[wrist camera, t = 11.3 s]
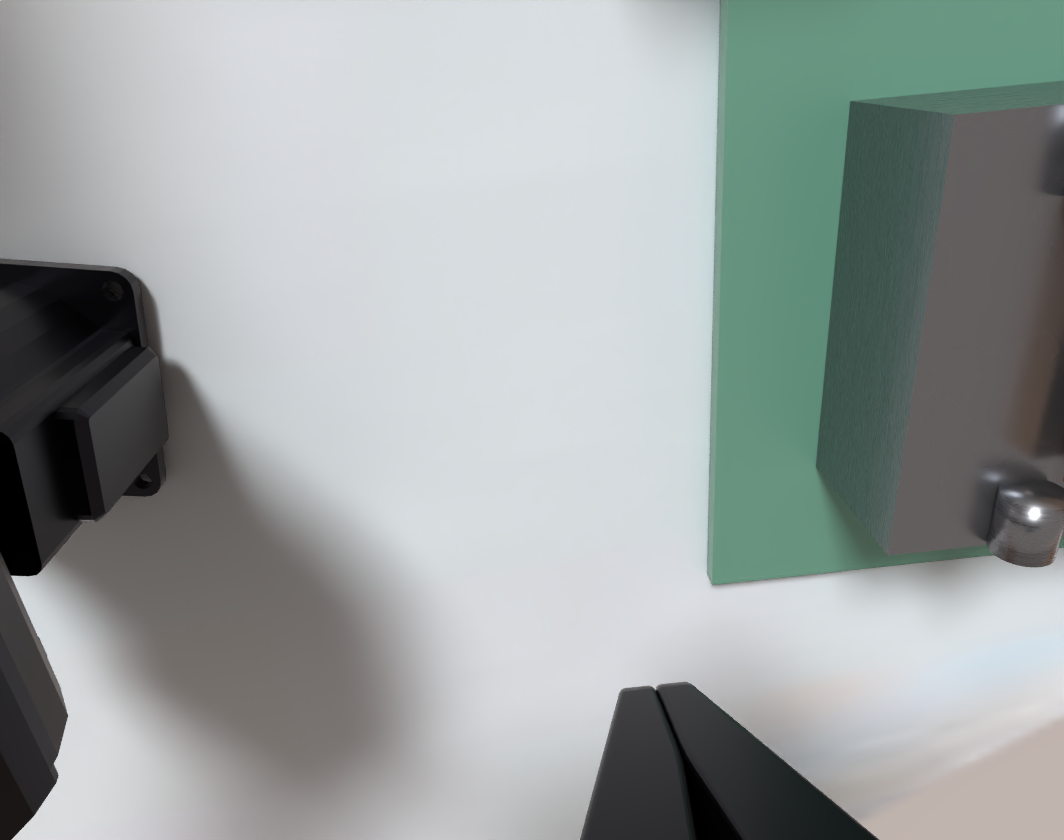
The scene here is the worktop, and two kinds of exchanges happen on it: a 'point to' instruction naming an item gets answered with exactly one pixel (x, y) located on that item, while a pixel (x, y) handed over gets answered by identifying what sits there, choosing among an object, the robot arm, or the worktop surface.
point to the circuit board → (815, 243)
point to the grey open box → (950, 323)
